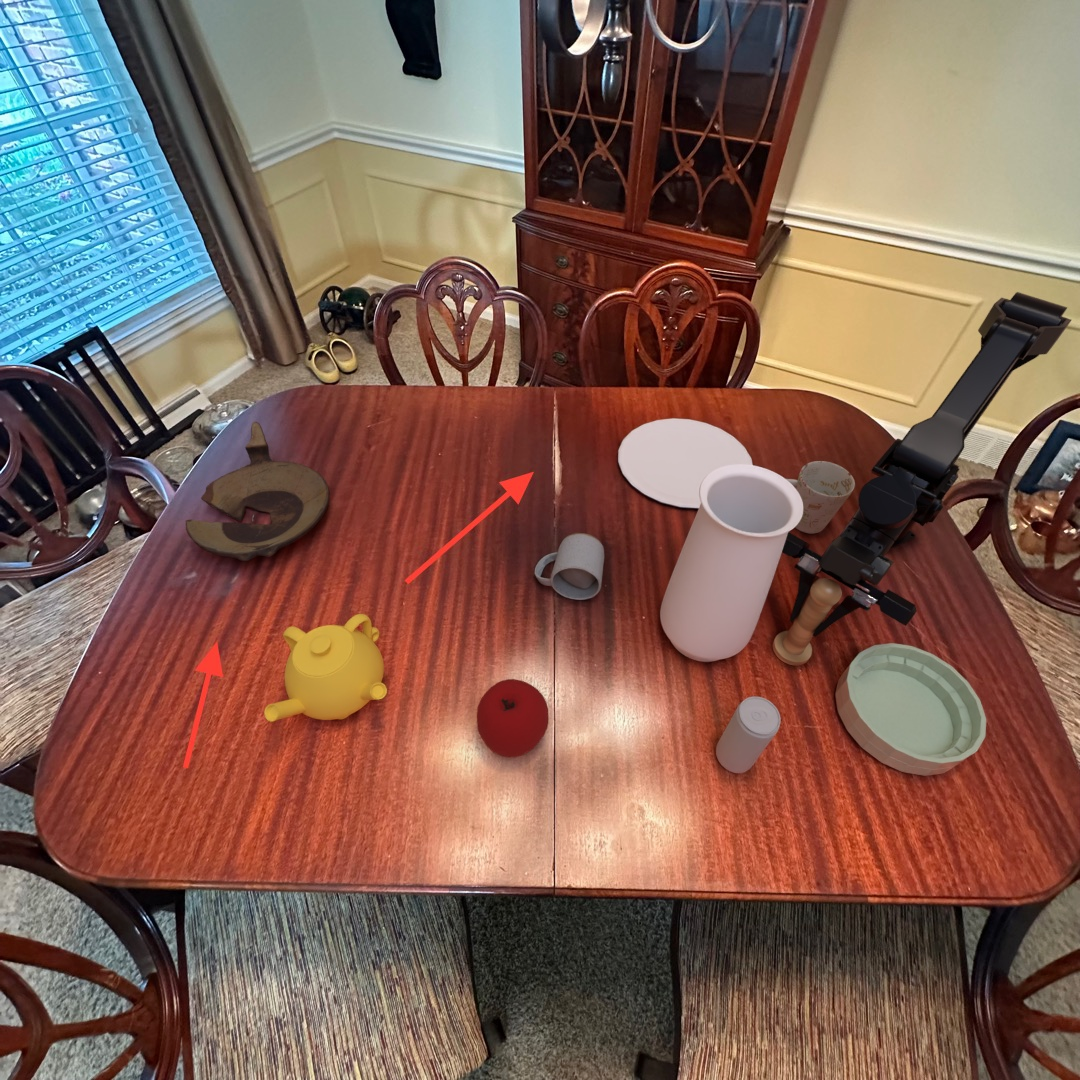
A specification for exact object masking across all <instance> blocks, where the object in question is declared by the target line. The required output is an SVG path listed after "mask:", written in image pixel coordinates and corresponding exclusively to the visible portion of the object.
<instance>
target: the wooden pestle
mask: <svg viewBox="0 0 1080 1080" xmlns="http://www.w3.org/2000/svg"><path fill="white" fill-rule="evenodd" d="M842 594H843V592H842V588H841V586H840V584H839V583H838V581H837V580H835V579H833V578H832V579H831V578H829V577H822V578H819V579H818V580H817V581H815V582H814V583H813V585H812V586H811V589H810V595H809V597H808V598H807V600H806V602H805V604H804V605H803V607H802V609H801V610H800V612H799V614H798V616H797V618H796V619H795V620H794V622H792V624H791V626H790V627H789V630H783V631H781V632H779V633H778V634H776V635H775V638H774V639H773V641H772V650H773V653H774V655H775V656H776V657H777V658H778V659H779V660H780V661H782V662H783V663H784V664H787V665H789V666H797V667H798V666H802V665H805V664H806V663H807V662H808V661H809V660H810V658H811V657H812V655H813V647H812V644H811V643H810V642H811V641H812V639H813V638H814V636H812V635H813V633H814V632H815V631H816V629H817V628H818V626H819V625H820V624H821V623H822V622H823V621H824V620H825V619H826V618H827V617H828V616H827V615H829V612H830V611H831V609H832V608H833V606H835V605H836V604H838V603H839V602H840V601H841V598H842Z"/></svg>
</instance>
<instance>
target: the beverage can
mask: <svg viewBox="0 0 1080 1080" xmlns="http://www.w3.org/2000/svg"><path fill="white" fill-rule="evenodd" d="M781 720H782V719H781V714H780V711H779V710H778V707H777V706H776V705H774V703H772V702H771V701H770V700H769V699H767V698H765V697H762V696H756V695H755V696H748V697H747V698H745V699H743V700H742V701H741V702H740V703H739V704H738V706H737V708H736V709H735V711H734V713H733V715H732V716H731V718H730V720H729V722H728V724H727V726H726V727H725V730H724V731H723V733H722V734H721V736H720V738H719V740H718V742H717V744H716V746H715V755H716V758H717V761H718V762H719V764H720V765H721V766H722V767H723V768H724V769H725V770H727V771H728V772H730V773H734V774H743V773H746V772H747V771H749V770H750V769H751V768H752V767H753V766H754V764H755V763H756V762H757V760H758V759H759V757H761V755H762V754H763V752H764V751H765V749H766V748H767V746H768V745H769V744H770V743H771V742H772V740H773V739H774V737H775V735H777V733H778V732H779V729H780V725H781Z"/></svg>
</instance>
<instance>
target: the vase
mask: <svg viewBox="0 0 1080 1080" xmlns="http://www.w3.org/2000/svg"><path fill="white" fill-rule="evenodd" d="M786 479H787V478H785V477H783V476H782V475H780V474H778V473H777V472H775V471H773V470H770V469H768V468H765V467H761V466H758V465H754V464H753V465H745V464H735V465H728V466H724V467H720V468H718V469H716V470H714V471H712V472H711V473H709V474H708V475H707V476H706V477H705V478H704V479H703V481H702V483H701V485H700V489H699V497H700V501H701V505H700V507H699V509H697V512H696V514H695V517H694V519H693V521H692V524H691V526H690V529H689V531H688V533H687V536H686V538H685V541H684V543H683V545H682V548H681V551H680V553H679V555H678V558H677V560H676V563H675V566H674V568H673V570H672V573H671V576H670V579H669V581H668V584H667V586H666V590H665V592H664V595H663V598H662V601H661V605H660V609H659V617H660V618H659V619H660V624H661V627H662V629H663V632H664V633H665V635H666V637H667V638H668V639H669V641H670V642H671V644H672V645H673V647H674V649H676V650H677V651H678V652H679V653H680V654H682V655H683V656H685V657H687V658H689V659H690V660H693V661H698V662H701V663H702V662H704V663H710V662H716V661H719V660H726V659H729V658H731V657H734V656H736V655H738V654H739V653H740V652H741V651H742V650H744V649H745V648H746V646H747V645H748V644H749V642H750V641H751V639H752V636H753V635H754V632H755V630H756V627H757V625H758V622H759V619H760V616H761V613H762V611H763V608H764V606H765V603H766V600H767V597H768V594H769V591H770V588H771V586H772V582H773V580H774V576H775V574H776V571H777V569H778V565H779V563H780V559H781V556H782V554H783V553H782V550H783V547H784V544H785V541H786V538H787V534H788V532H790V531H792V530H793V529H794V528H795V526H797V524H798V523H799V522H800V520H801V518H802V515H803V502H802V499H801V497H800V495H799V493H798V491H797V490H796V487H794V486H793V485H792V484H791V483H790V482H789V481H787V480H786Z"/></svg>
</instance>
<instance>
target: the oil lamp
mask: <svg viewBox="0 0 1080 1080" xmlns="http://www.w3.org/2000/svg"><path fill="white" fill-rule="evenodd" d="M250 429H251V430H250V439H249V441H248V443H247V444H246V445H245V447H244V448H245V451H246V453H247V456H248V457H249V461H250V463H249V464H246V465H245V466H243V467H241V468H237V469H235V470H233V471H230V472H228V473H226V474H223V475H222V476H220V477H218V478H216V479H214V480H213V481H211V482H210V483H209V484H208V485H206V487H205V492H204V493H203V494H202V496H201V497H200V499H201V501H203V502H205V503H206V504H207V505H209V506H211V507H213V509H216V510H217V511H220V512H221V513H222V514H224V515H226V516H228V517H230V518H232V519H234V520H235V521H233V522H231V521H230V522H229V521H228V522H227V521H225V522H220V521H215V522H214V521H213V522H211V521H206V520H205V521H204V520H195V519H186V520H185V530H186V533H187V535H188V536H189V538H190V539H191V541H193V543H194V544H196V546H198V547H200V548H201V549H202V550H204V551H206V552H208V553H211V554H212V555H217V556H218V557H219V556H220V557H223V558H224V557H225V558H234V559H237V560H239V561H241V562H248V561H251V560H253V559H254V558H257V557H272V556H274V555H275V554H276V553H277V552H278V551H279V550H281V549H283V548H285V547H287V546H289V545H291V544H292V543H295V542H296V541H298V540H299V539H301V538H303V537H304V536H305V535H307V534H308V533H309V532H310V531H311V530H312V529H314V527H316V525H317V524H318V523H319V522H320V521H321V520H322V518H323V516H324V515H325V513H326V511H327V509H328V507H329V503H330V489H329V485H328V482H327V481H326V479H325V478H324V476H322V475H321V474H320V473H319V472H318V471H316V470H315V469H313V468H311V467H309V466H307V465H304V464H301V463H297V462H294V461H293V462H291V461H280V460H279V461H277V460H272V459H271V455H270V449H269V444H268V442H267V439H266V436H265V433H264V431H263V428H262V425H261V424H260V423H259V422H258V421H253V423H252V424H251V428H250ZM246 508H250V509H252V510H253V511H258V512H260V513H261V512H262V513H266V514H267V513H268V514H269V518H270V522H271V523H270V524H261V523H250V522H241V521H243V518H244V516H245V514H246ZM254 517H255V514H253V515H252V517H251V520H252V522H254ZM236 521H238V522H236Z"/></svg>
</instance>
